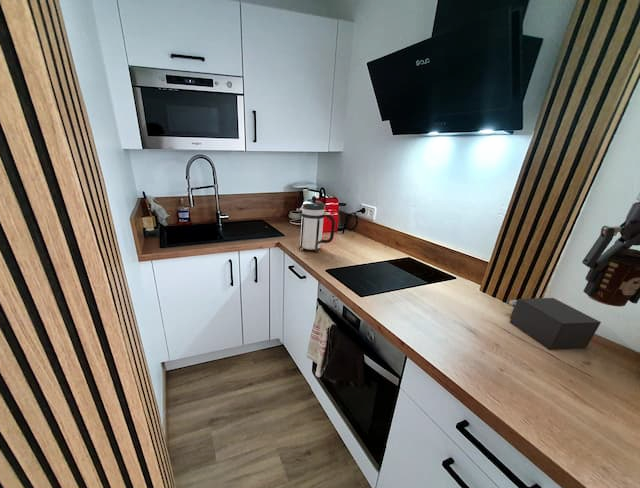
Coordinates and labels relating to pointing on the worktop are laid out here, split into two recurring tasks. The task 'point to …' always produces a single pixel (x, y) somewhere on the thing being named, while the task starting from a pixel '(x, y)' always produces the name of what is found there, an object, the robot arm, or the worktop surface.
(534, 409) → the worktop surface
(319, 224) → the coffee press
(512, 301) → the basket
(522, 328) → the dark grey low box
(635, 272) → the coffee cup
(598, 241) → the robot arm
